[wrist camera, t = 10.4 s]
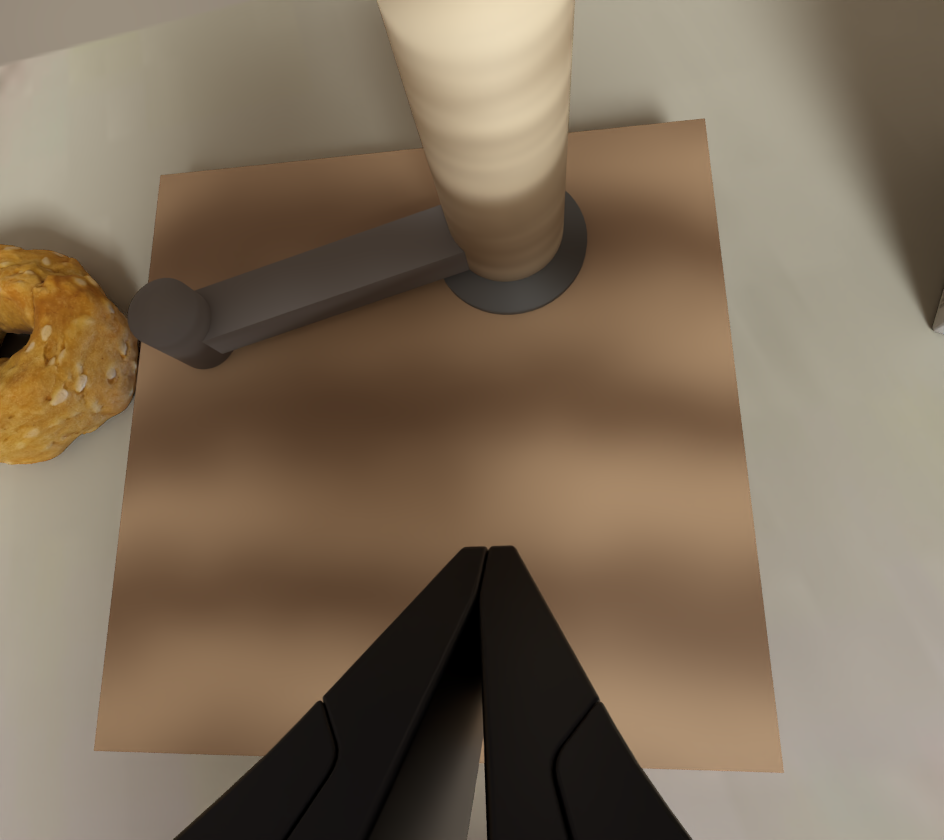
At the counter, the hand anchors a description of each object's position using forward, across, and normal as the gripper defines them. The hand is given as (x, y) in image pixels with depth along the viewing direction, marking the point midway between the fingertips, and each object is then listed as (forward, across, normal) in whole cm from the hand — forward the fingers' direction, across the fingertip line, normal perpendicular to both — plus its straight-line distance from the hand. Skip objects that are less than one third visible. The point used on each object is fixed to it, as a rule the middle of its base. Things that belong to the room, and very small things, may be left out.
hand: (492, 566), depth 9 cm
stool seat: (+13, -4, -6) cm, 14 cm away
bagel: (+16, -22, -3) cm, 27 cm away
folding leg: (+14, -5, 0) cm, 15 cm away
